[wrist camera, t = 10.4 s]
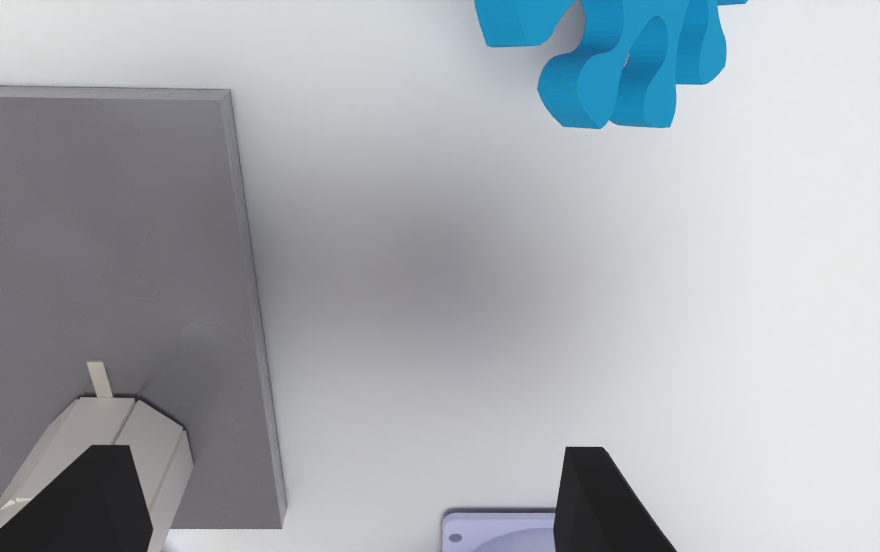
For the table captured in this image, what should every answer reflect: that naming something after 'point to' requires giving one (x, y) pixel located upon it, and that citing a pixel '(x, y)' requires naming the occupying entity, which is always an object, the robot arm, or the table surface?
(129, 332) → the flat rectangular plate
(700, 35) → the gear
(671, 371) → the table surface
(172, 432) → the knob
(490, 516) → the robot arm
